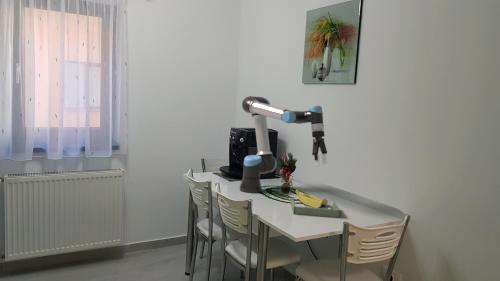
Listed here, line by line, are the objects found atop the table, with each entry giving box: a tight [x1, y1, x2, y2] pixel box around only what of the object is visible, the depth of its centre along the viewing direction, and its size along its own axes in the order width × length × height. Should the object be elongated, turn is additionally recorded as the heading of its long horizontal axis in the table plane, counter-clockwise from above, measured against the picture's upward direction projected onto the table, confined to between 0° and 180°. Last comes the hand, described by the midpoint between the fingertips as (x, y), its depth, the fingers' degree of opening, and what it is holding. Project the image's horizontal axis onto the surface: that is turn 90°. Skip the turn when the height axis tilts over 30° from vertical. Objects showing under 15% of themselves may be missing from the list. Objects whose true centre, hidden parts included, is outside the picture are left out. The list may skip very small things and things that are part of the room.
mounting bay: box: [290, 198, 342, 218], centre depth 215 cm, size 17×26×5 cm, turn 89°
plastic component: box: [295, 188, 329, 208], centre depth 232 cm, size 20×7×10 cm
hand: (320, 164), depth 232 cm, fingers open, 13 cm apart
